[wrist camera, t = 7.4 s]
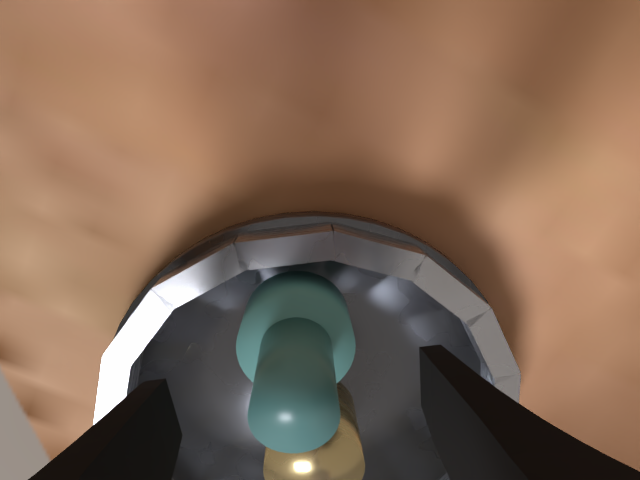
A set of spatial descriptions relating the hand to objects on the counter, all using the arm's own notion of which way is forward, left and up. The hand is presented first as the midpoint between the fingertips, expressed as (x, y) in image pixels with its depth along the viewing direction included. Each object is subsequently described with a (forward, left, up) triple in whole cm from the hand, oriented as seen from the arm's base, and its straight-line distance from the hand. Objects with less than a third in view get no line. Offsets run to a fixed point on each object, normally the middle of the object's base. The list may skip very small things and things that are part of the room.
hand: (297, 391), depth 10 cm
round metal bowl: (-4, 0, -5) cm, 7 cm away
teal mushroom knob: (0, 0, -4) cm, 4 cm away
